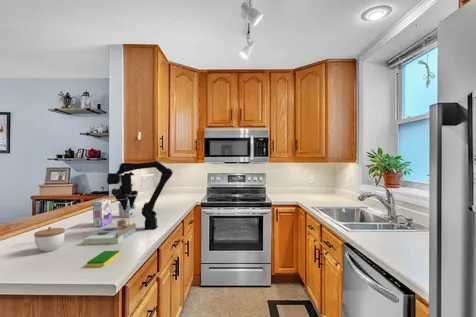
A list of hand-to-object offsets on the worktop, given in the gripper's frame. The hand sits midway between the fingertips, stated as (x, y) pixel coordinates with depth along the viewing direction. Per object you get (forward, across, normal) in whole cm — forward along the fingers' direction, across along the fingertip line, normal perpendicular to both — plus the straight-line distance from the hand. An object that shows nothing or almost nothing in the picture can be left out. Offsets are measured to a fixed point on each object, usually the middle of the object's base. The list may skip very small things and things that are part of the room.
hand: (128, 208), depth 173 cm
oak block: (+10, +8, 0) cm, 13 cm away
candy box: (+13, -17, -26) cm, 33 cm away
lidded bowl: (+12, +34, -25) cm, 44 cm away
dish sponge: (+14, +52, +11) cm, 55 cm away
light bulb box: (+13, -42, -20) cm, 48 cm away
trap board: (+13, +16, -3) cm, 21 cm away
